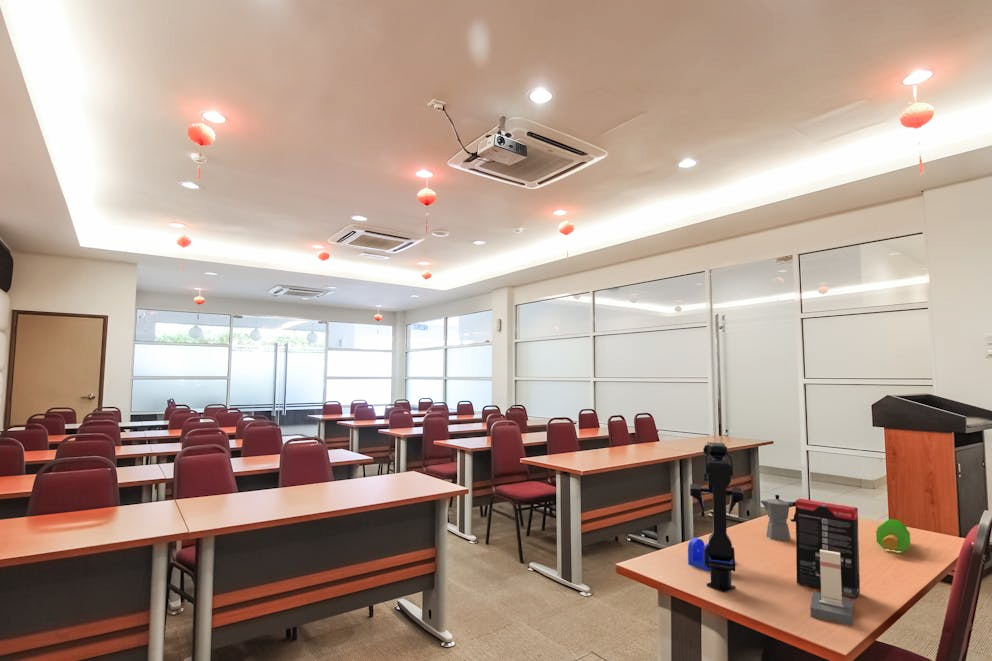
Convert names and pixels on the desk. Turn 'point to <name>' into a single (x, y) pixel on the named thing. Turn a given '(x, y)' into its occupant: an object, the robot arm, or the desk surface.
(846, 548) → the graphics card box
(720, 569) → the robot arm
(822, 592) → the strip
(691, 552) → the bracket
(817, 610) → the base
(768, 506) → the coffeepot
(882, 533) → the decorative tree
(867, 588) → the desk surface
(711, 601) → the desk surface
